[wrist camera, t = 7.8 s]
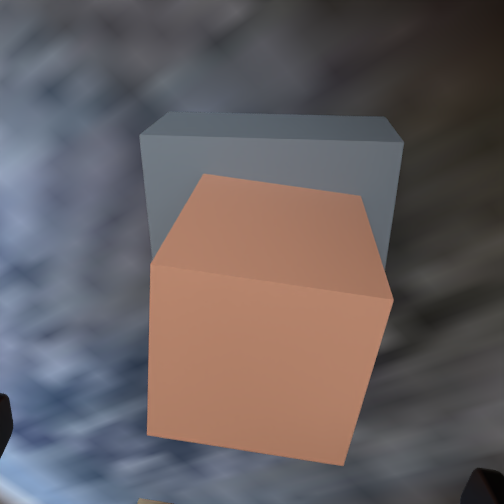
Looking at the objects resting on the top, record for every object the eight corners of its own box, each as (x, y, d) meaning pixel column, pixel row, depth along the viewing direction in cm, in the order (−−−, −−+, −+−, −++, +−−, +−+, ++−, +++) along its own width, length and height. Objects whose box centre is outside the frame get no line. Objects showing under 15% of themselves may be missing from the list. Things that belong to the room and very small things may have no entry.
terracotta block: (360, 195, 15) (394, 299, 10) (330, 325, 17) (342, 466, 12) (203, 173, 15) (150, 264, 10) (194, 304, 17) (146, 435, 12)
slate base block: (384, 115, 18) (404, 142, 14) (360, 298, 21) (371, 356, 18) (170, 109, 18) (139, 134, 15) (183, 288, 22) (160, 342, 18)
